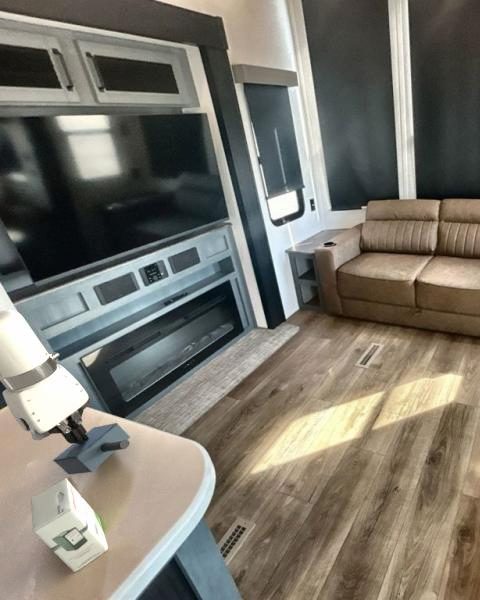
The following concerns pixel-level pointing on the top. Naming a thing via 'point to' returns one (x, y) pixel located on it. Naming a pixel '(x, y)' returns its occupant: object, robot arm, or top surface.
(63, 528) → the ink box
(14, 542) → the top surface
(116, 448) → the dustpan
